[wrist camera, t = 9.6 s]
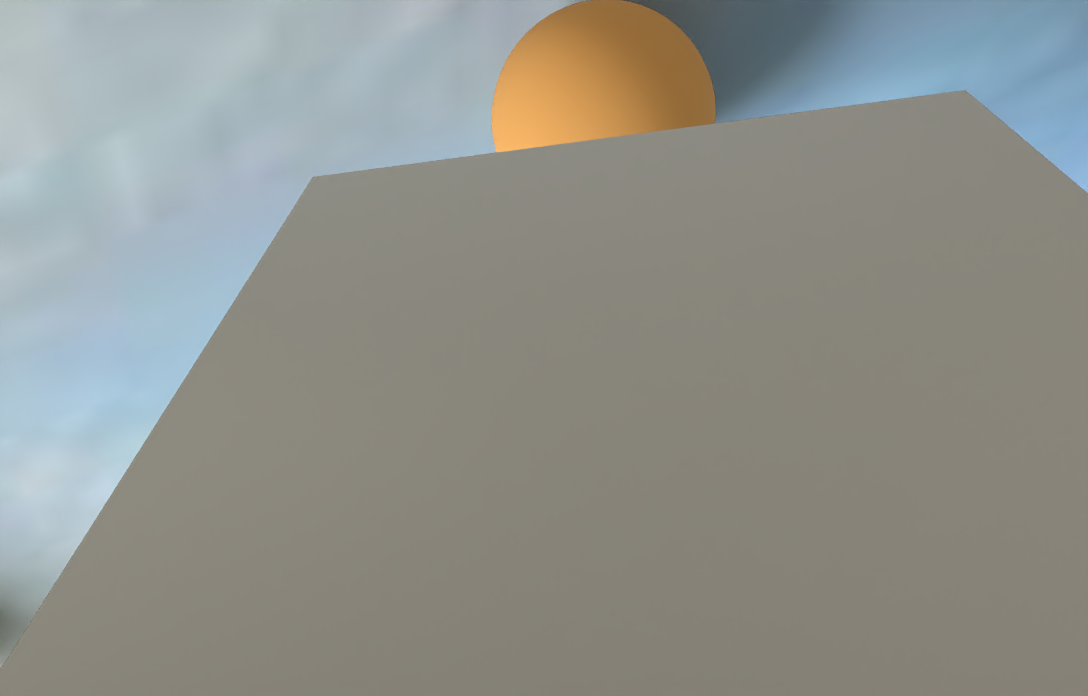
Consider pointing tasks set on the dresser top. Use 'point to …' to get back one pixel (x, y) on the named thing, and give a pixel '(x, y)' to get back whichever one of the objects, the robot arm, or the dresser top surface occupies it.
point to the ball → (600, 78)
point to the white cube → (624, 432)
